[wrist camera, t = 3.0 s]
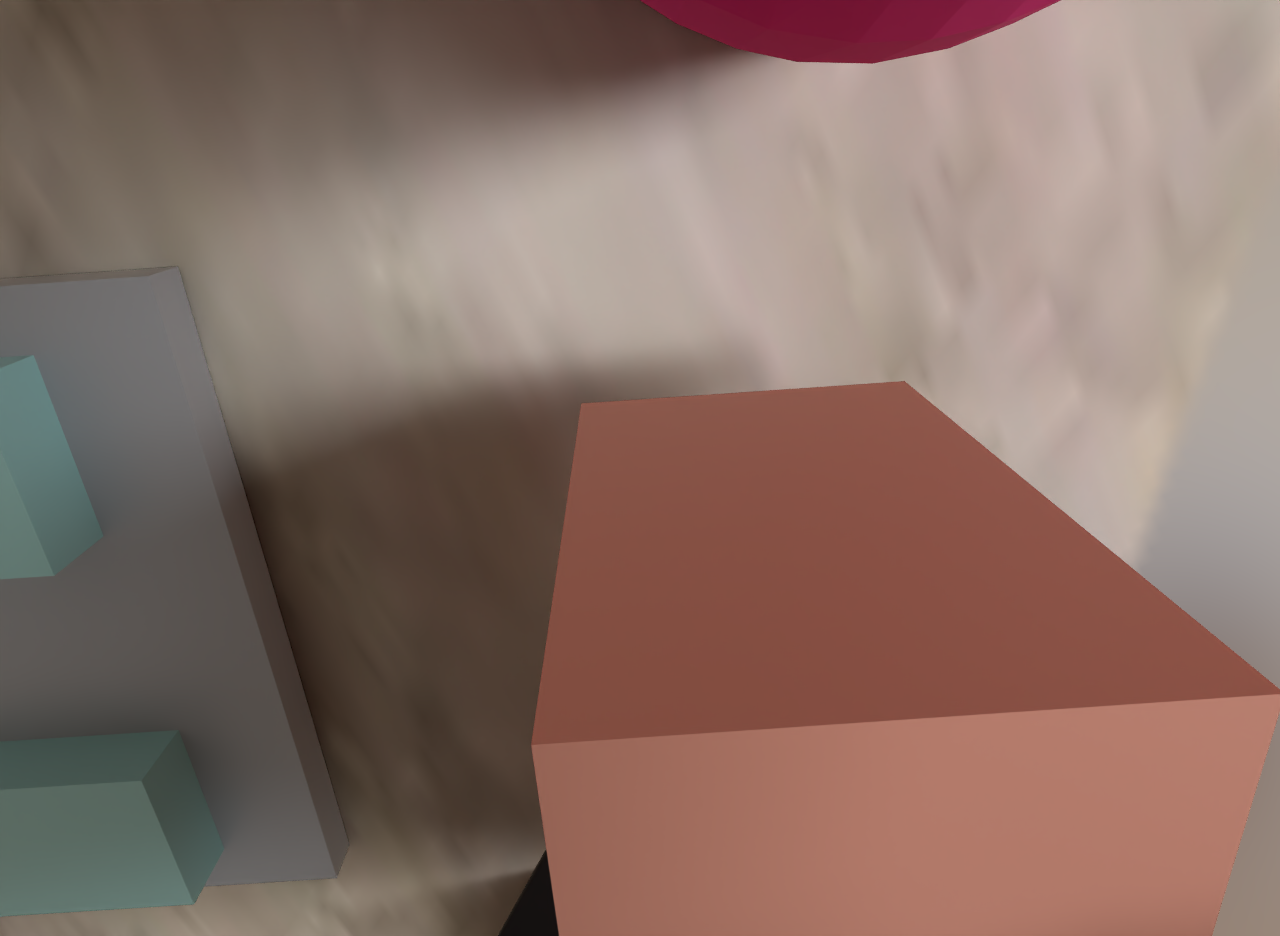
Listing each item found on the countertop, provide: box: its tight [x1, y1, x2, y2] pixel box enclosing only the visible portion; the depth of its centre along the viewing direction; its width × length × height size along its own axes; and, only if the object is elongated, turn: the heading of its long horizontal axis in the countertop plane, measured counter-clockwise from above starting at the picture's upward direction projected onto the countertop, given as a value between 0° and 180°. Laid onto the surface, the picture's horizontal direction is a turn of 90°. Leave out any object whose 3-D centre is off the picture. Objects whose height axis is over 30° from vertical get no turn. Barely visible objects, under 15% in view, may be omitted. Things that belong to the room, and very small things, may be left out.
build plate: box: [0, 266, 349, 917], centre depth 13 cm, size 12×8×2 cm, turn 4°
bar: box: [531, 381, 1280, 936], centre depth 9 cm, size 10×4×6 cm, turn 4°
